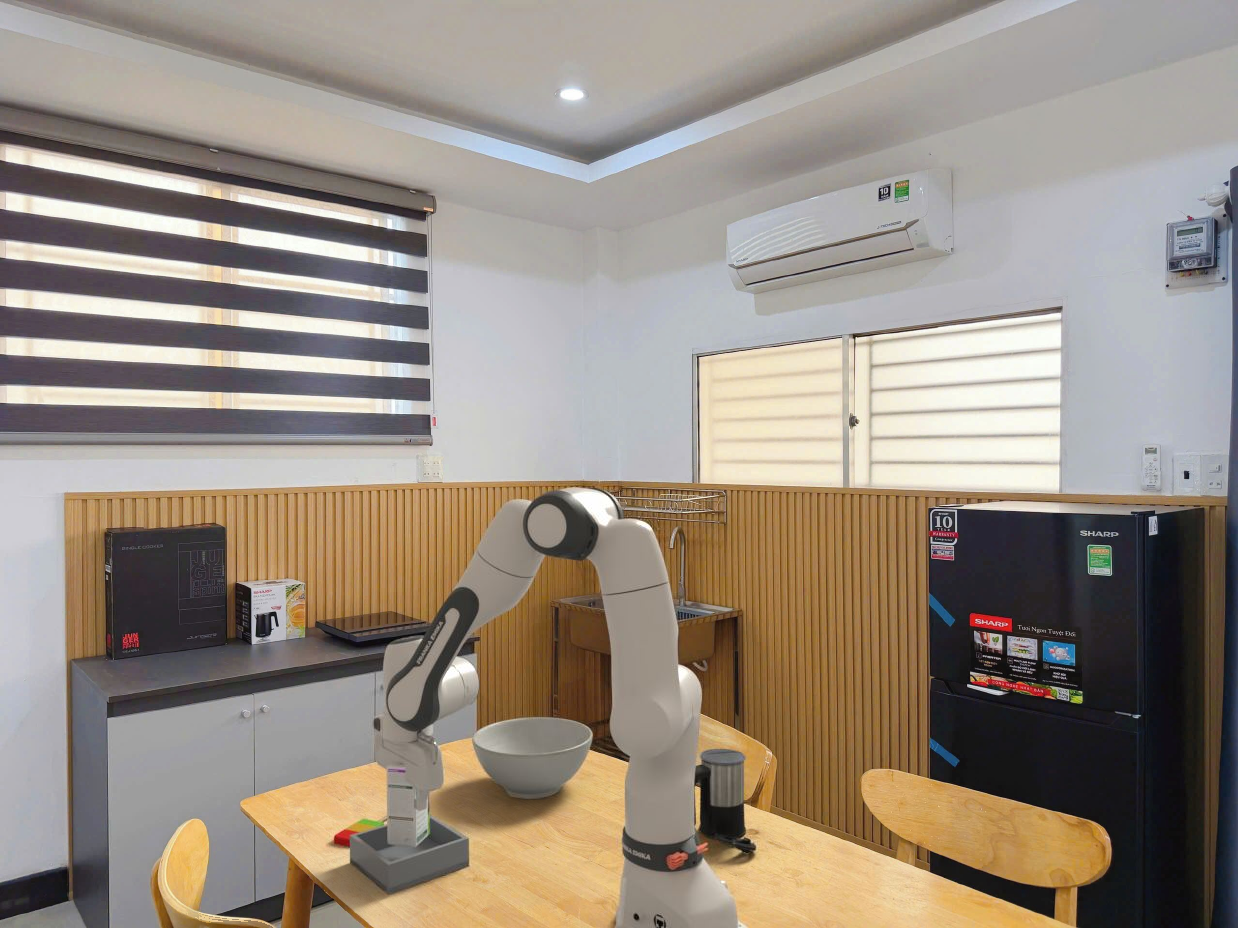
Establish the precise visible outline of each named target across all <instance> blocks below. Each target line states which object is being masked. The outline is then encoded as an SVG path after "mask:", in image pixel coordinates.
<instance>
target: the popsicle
mask: <svg viewBox="0 0 1238 928" xmlns="http://www.w3.org/2000/svg"><path fill="white" fill-rule="evenodd" d="M385 821H387V814H385V816H382V817H381V818H378V819H377V820H372V819H367V818H362V819H360V820H358V821H356V822H354V823H353V824H351V825H349V826H348V827H346V828H344V829H342V830H340V831H339V832H338V833H335V835H334V836H333V844H334V845H338V846H343V847H348V848H350V835H353V834H356V833H359V832H363V831H366V830H369V829H373V828H376V827H379V826H383V825H385V823H384V822H385Z"/></svg>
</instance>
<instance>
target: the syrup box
mask: <svg viewBox="0 0 1238 928" xmlns="http://www.w3.org/2000/svg"><path fill="white" fill-rule="evenodd" d="M386 767H387V770H386V815H387V819H386V824H387V841H388V844H390V845H395V846H404V847H414V848H416V847H417V845H418V844H419V843H421V842H422V841H423V840H424V839H425V838H426V837H427V836H428V835H429V834H430V814H431V812H430V806H431V805H430V795H429V796H428V798H427V808H426V809H425V810H421V811H418V810H417V809H415V808H414V799H416V798H417V794H418V792H416V787H415V786H414V785H412V784H410V783H409V782H407V781H406V779H405V765H403V764H401V763H399V762H396V761H393V762H392V763H391V764H389V765H388V766H386Z"/></svg>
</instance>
